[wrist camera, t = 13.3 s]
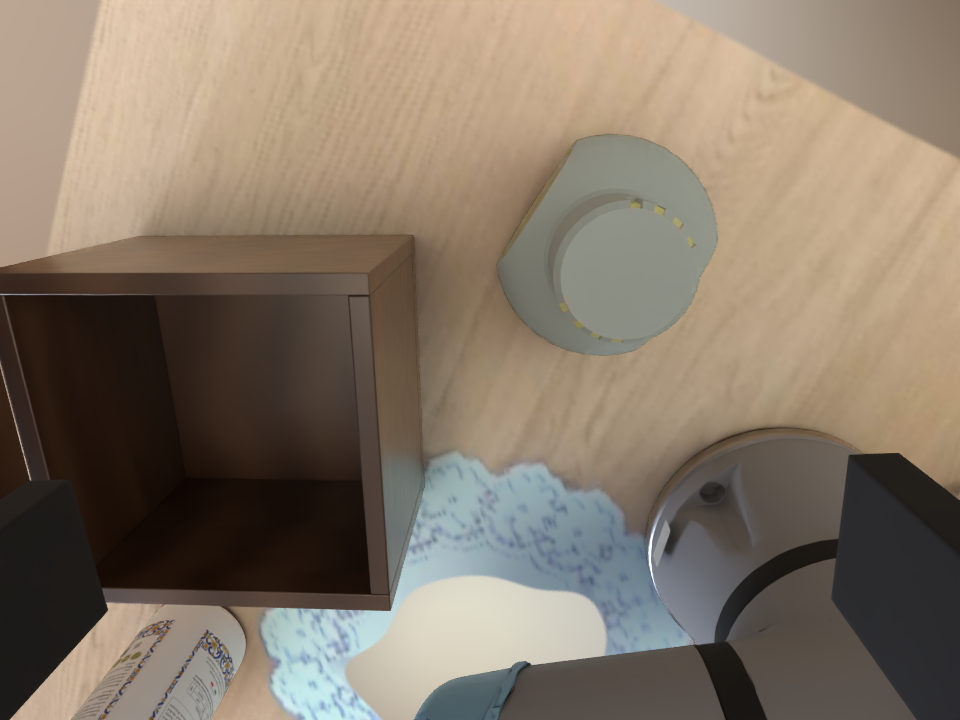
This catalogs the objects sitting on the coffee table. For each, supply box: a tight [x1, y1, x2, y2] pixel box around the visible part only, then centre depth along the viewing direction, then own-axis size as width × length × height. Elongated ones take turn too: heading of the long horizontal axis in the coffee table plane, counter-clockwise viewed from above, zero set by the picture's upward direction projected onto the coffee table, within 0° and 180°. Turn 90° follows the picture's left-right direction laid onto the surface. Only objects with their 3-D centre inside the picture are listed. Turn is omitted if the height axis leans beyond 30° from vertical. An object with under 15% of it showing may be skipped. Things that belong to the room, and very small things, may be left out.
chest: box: [0, 235, 424, 611], centre depth 33 cm, size 16×16×11 cm
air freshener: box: [497, 134, 718, 356], centre depth 30 cm, size 11×8×10 cm
